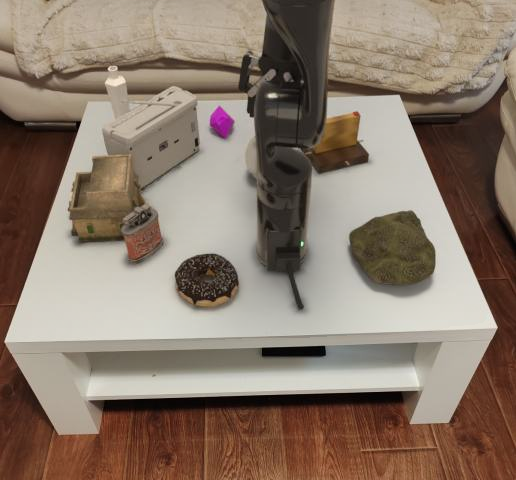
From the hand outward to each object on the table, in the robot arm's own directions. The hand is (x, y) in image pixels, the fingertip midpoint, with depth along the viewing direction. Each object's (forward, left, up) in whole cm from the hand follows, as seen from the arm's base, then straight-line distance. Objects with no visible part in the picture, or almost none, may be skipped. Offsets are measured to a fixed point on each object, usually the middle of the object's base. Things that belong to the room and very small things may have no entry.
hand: (275, 121), depth 102 cm
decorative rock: (-19, -21, -19) cm, 34 cm away
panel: (+16, -15, -19) cm, 29 cm away
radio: (+15, +24, -19) cm, 34 cm away
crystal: (+27, +10, -19) cm, 35 cm away
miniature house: (-3, +33, -19) cm, 38 cm away
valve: (+15, -1, -19) cm, 25 cm away
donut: (-23, +13, -19) cm, 32 cm away
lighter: (-13, +25, -19) cm, 34 cm away
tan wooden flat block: (+16, -15, -17) cm, 28 cm away
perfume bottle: (+28, +33, -19) cm, 48 cm away
